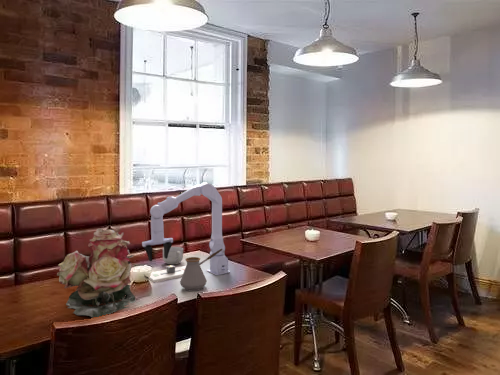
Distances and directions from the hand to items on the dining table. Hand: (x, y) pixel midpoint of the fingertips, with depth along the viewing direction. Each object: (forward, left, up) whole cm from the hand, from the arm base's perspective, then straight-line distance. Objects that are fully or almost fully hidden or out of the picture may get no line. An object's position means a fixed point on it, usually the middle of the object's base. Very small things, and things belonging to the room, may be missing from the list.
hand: (158, 259), depth 193 cm
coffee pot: (-24, -11, -9) cm, 27 cm away
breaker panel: (0, -6, -8) cm, 10 cm away
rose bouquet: (-20, +31, -9) cm, 38 cm away
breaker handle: (0, -6, -7) cm, 9 cm away
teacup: (+17, -15, -9) cm, 24 cm away
